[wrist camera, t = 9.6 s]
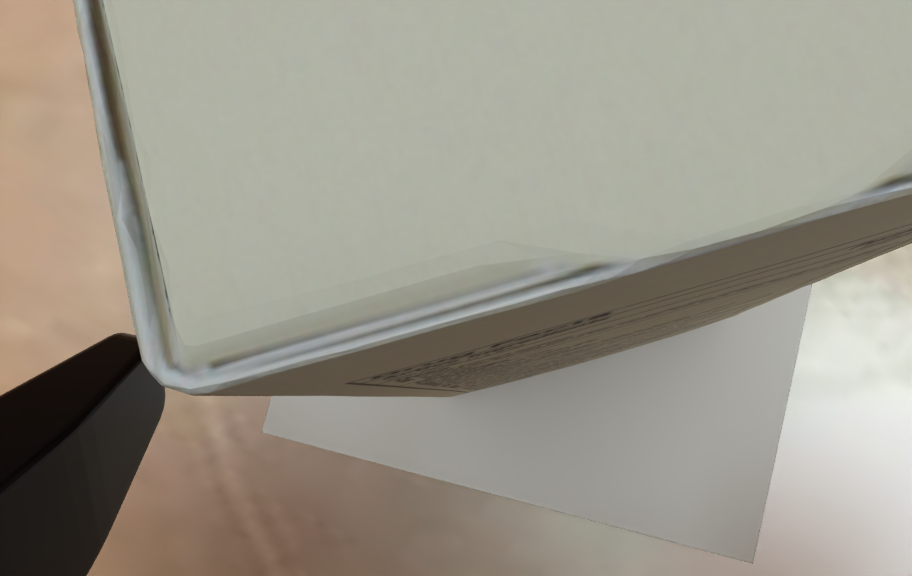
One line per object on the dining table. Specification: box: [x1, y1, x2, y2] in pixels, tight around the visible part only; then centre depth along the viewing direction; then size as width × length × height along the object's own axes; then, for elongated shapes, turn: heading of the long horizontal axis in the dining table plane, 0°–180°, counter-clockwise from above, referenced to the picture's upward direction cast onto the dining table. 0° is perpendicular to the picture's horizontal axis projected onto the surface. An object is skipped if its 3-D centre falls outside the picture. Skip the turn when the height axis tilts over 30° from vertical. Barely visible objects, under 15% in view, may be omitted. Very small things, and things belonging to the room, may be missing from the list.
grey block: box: [262, 284, 812, 564], centre depth 18 cm, size 10×10×4 cm
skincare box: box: [73, 0, 912, 397], centre depth 10 cm, size 6×4×12 cm
